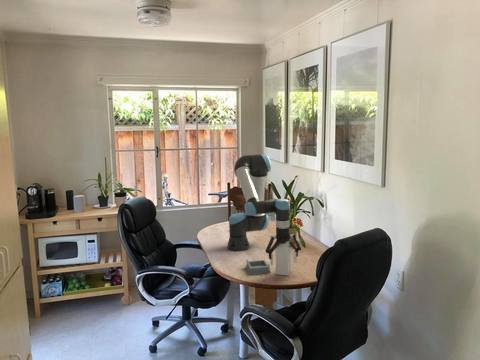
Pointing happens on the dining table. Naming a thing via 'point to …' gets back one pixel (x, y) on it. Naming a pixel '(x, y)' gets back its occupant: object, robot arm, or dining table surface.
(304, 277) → the dining table surface
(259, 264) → the seat block
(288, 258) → the milk carton
